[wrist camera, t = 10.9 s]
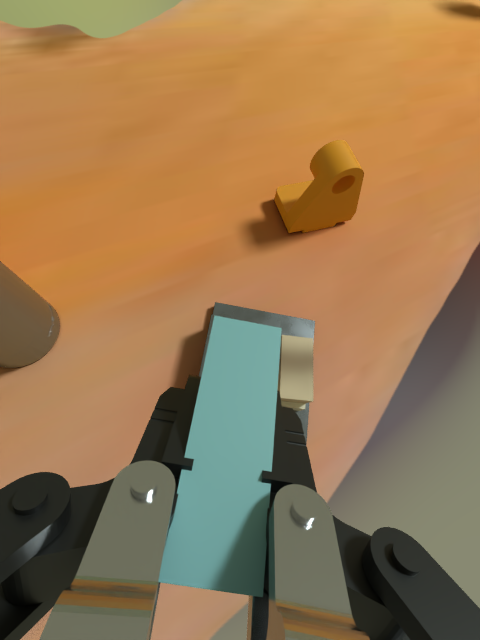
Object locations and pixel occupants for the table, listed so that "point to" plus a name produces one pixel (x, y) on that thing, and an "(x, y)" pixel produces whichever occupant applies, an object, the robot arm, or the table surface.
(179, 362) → the table surface
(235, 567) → the teal rectangular slab
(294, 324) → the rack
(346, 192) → the bracket
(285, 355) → the offcut top
